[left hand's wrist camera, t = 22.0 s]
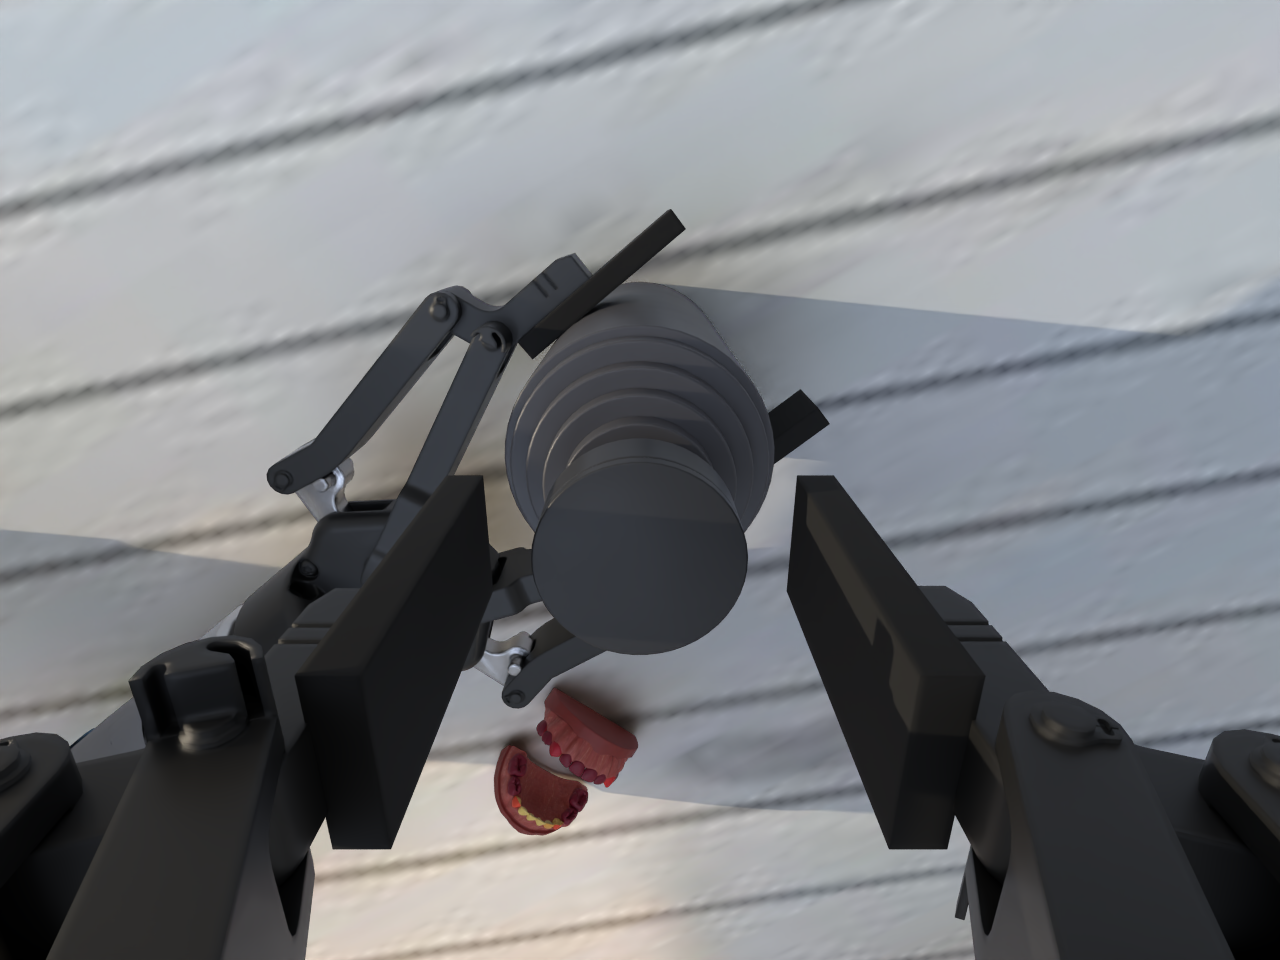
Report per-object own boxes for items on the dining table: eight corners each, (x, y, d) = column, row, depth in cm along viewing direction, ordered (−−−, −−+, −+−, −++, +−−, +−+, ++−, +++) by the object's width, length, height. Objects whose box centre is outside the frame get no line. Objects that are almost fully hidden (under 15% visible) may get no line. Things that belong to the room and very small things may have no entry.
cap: (542, 430, 14) (531, 455, 12) (748, 443, 14) (761, 469, 12) (540, 609, 15) (530, 650, 14) (726, 619, 15) (735, 661, 14)
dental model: (472, 825, 35) (561, 725, 33) (486, 763, 39) (566, 670, 37) (562, 869, 36) (652, 776, 34) (566, 805, 40) (648, 718, 38)
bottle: (582, 459, 32) (518, 725, 15) (537, 304, 30) (401, 417, 13) (735, 424, 32) (845, 661, 15) (703, 263, 29) (792, 324, 12)
